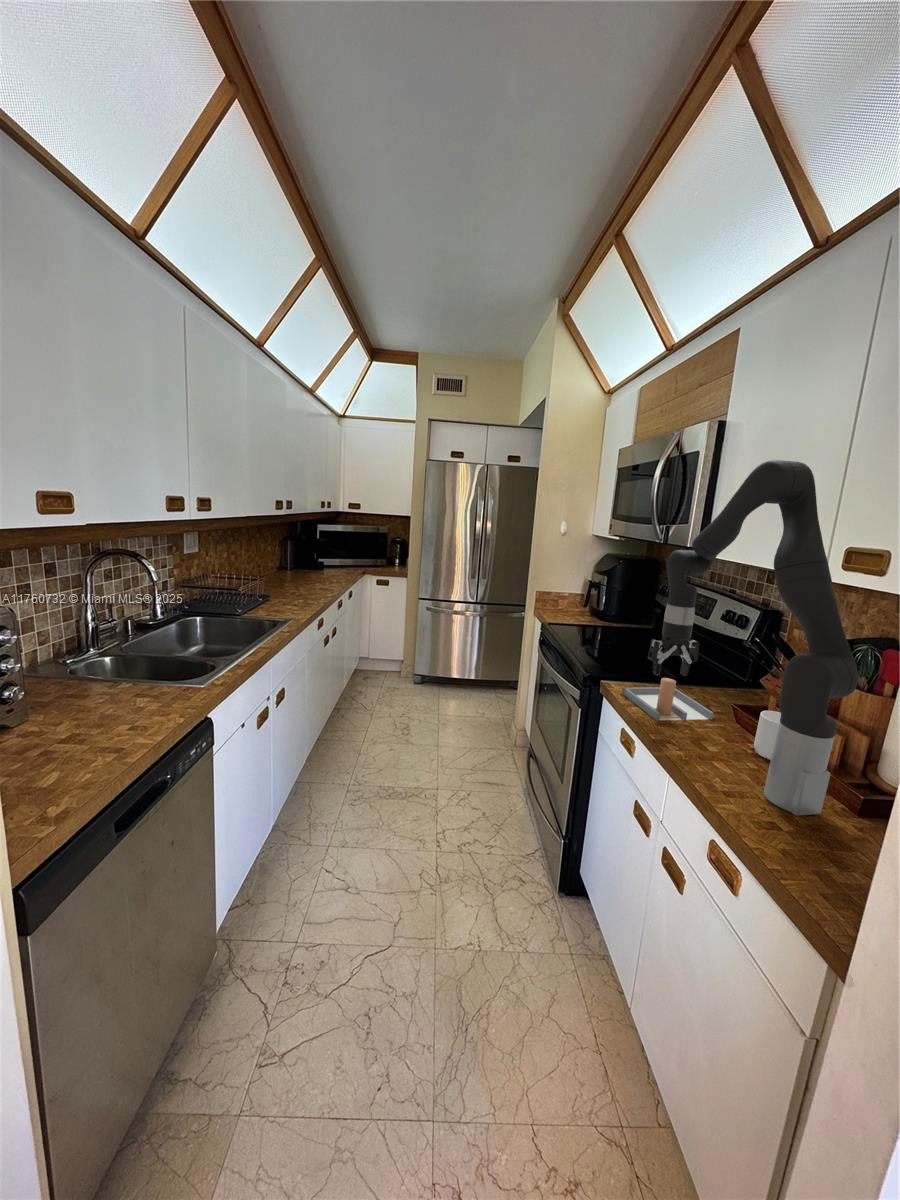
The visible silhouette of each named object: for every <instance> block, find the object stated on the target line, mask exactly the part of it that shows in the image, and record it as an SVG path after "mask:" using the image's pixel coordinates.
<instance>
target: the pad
mask: <svg viewBox="0 0 900 1200" xmlns="http://www.w3.org/2000/svg"><path fill="white" fill-rule="evenodd" d="M654 709H655V710H656V708H654ZM660 718H679V717H678V716H677V715H676V714H674V713H673V712H671V715H661V714H660Z"/></svg>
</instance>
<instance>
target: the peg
mask: <svg viewBox="0 0 900 1200" xmlns="http://www.w3.org/2000/svg"><path fill="white" fill-rule="evenodd" d="M676 684H677V681H676V680H675V679H672V678H668V677H662V678H661V680H660V684H659V687H660V690H659V696H658V702H657V708H656V711H658V712H659V713H660V714H661V715H671V710H672V704H673V698H674V693H675V688H676V687H677V685H676Z"/></svg>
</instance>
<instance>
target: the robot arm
mask: <svg viewBox="0 0 900 1200" xmlns="http://www.w3.org/2000/svg"><path fill="white" fill-rule="evenodd" d="M815 481H816V480H815V476H814V473H813V470H812V469H811V468H810V467H809V466H808V465H807V464H805V463H803V462H800V461H797V460H796V461H795V460H794V461H793V460H782V459H781V460H780V459H770V460H765V461H763V462H761V463H760V464H758V465H757V466H756V467H755V468H754V469H753V470H752V471H751V472H750V473H749V474H748V476H747V477H746V478H745V480H744V481H743V483H741V485H740V486H739V488H738V489H737V491H736V492H735V493H734V494H733V496H732V497H731V498H730V499H729V501H728V503H726V505H725V506H724V508H723V509H722V510H721V511H720V513H719V514H718V515H717V516H716V517H715V518H714V519H713V520H712V521H711V522H710V523H709V524H708V525H707V526H705V528H704V529H703V530H702V531H701V532H700V533H699V534H698V535H697V536H695V538H694V539H693V540H692V545H691V546H692V550H685V549H678V550H674V551H672V552H671V553H670V554H669V555H668V557H667V560H666V565H665V567H666V574H667V582H668V588H669V589H668V591H669V592H668V597H667V603H666V607H665V611H664V616H663V617H664V618H663V624H662V629H661V630H662V632H661V635H662V638H661V640H656V639H654V638H653V639H651V640H650V645H649V649H648V652H647V653H648V655H647V659H648V660H650V661H651V662H653V665H652V666H653V667H652V673H653V675H655V676H657V677H660V676H661V673H662V663H663V662H664V661H665V660H666V659H668V658H669V656H670V657H675V656H677V657H680V658H681V659H682V661H681V664H680V671H679V673H680V675H681V676H683V677H687V676H688V674H689V672H690V666H691V664H692V663H693V662H694V663H697V662H698V659H699V652H700V642H699V641H697V640H696V639H695V640H694V639H691V638H692V633H693V626H694V621H695V614H696V613H695V607H696V601H697V595H698V588H697V587H696V586H694V585H692V584H690V583H688V581H687V578H686V576H688V577H697V576H701V575H704V574H705V573H706V572H707V571H708V570H709V569H710V568H711V566H712V565H713V563H714V562H715V561H716V558H717V556H718V555H719V554H721V553H723V551H724V550H725V549H726V548H727V547H729V546H731V544H732V543H734V541H735V540H736V539H737V537H738V536H739V534H740V533H741V530H742V528H743V527H742V526H743V524H744V521H745V520H746V518H747V517H748V516H749V515H750V514H751V513H752V512H754V511H756V510H757V509H758V508H759V507H761V506H762V505H764V504H774V505H776V504H778V506H779V509H780V513H781V518H782V523H783V524H782V526H783V531H782V535H781V539H780V541H779V543H778V547H777V549H776V552H775V555H774V558H773V570H774V571H773V572H774V575H775V576H774V577H775V581H776V586H777V591H778V593H779V596H780V598H781V599H782V601H783V602H784V605H785V606H786V607H787V609H789V611H790V612H791V614H792V615H793V616H794V618H795V619H796V620H797V622H798V623H799V625H800V626H801V629H802V630H803V633H804V635H805V639H806V642H807V647H808V653H807V652H806V653H800V654H797V655H794V656H793V657H792V658H790V659H789V661H788V662H787V664H786V666H785V668H784V672H783V675H782V682H781V689H780V694H779V695H780V696H779V699H778V700H779V701H778V706H779V712H780V713H781V718H780V722H779V726H778V731H777V735H776V739H775V744H774V748H773V753H772V757H771V760H770V762H769V767H768V770H767V775H766V780H765V784H764V790H763V795H764V797H765V798H766V799H767V800H768V801H769V803H772V804H773V805H774V806H776V807H778V808H780V809H783V810H784V811H787V812H789V813H791V814H793V815H794V816H798V817H799V816H808V815H809V816H811V815H813V816H814V815H821V813H822V809H823V806H824V805H823V804H824V801H825V798H826V793H827V790H828V786H829V781H830V780H831V779H830V778H831V772H830V771H828V770H827V769H828V765H829V764H828V763H829V761H830V756H831V752H832V748H833V745H834V741H835V738H836V733H837V730H838V729H837V728H838V723H837V721H836V720H835V719H834V718H833V717H832V716H831V715H828V714H827V713H828V706H829V701H830V699H841V698H845V697H848V696H850V695H851V694H853V693H854V692H855V690H856V689H857V687H858V684H859V671H858V667H857V664H856V660H855V658H854V656H853V652H852V649H851V647H850V645H849V642H848V639H847V636H846V633H845V631H844V628H843V624H842V620H841V615H840V611H839V606H838V604H837V603H838V602H837V600H836V595H835V592H834V586H833V585H834V583H833V580H832V573H831V571H830V567H829V562H828V558H827V557H828V556H827V554H826V551H825V550H826V549H825V547H824V541H823V535H822V530H821V526H820V522H819V521H820V520H819V512H818V502H817V493H816V492H817V491H816V482H815Z"/></svg>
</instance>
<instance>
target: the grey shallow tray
mask: <svg viewBox="0 0 900 1200" xmlns="http://www.w3.org/2000/svg"><path fill="white" fill-rule="evenodd" d="M659 690H660V686H659V687H653V686H651V687H646V686H645V687H623V689H622V693H621V694H622V695H624V696H625V697H626V698H627V699H629V700H630V701H631V702H632V703H634V704H635V705H636V706H638V707H639V708H640V709H641V710H643V711H644V712H645V713H646V714H648V715H649V716H650V717H651V718H652V719H654V720H655V721H691V720H699V721H700V720H713V718H714V712H713V711H712V710H710V709H709V708H707V707H705V706H704V705H702V704H701V703H699V702H697V701H696V700H694V699H693V698H691V697H690V696H688V695H686V694H685V693H683V692H681V691H680V690H679V689H677V688H676V687H675V693H674V698H673V704H672V710H671V712H673V713H674V714H676V715H677V716H678V717H679V718H660V713H659V712H658V711H656V710H655V709H654V708H657V702H658V696H659Z"/></svg>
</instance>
